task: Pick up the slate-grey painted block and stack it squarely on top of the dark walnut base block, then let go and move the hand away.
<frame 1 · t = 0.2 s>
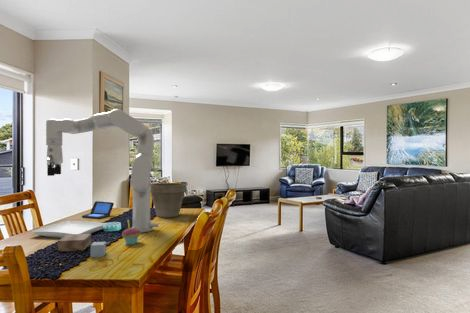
hand: (54, 174, 174), 31 cm above the table, fingers open, 9 cm apart
walnut base: (75, 248, 150), on the table
plant pot: (167, 215, 224), on the table
square plate: (72, 233, 177), on the table
cupcake: (131, 243, 158), on the table
slate block: (98, 255, 139), on the table
handheld game console: (97, 217, 220), on the table
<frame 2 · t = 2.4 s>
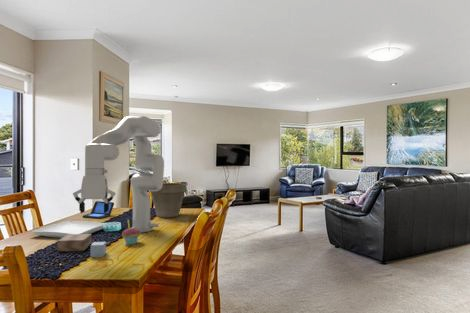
hand: (94, 212, 141), 18 cm above the table, fingers open, 9 cm apart
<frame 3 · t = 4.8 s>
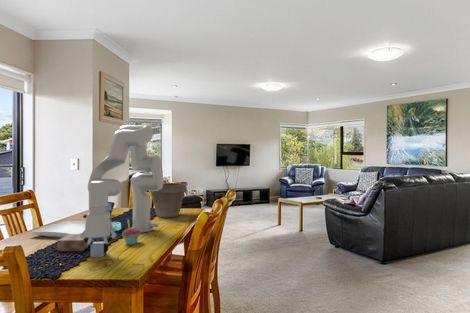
hand: (98, 252, 139), 1 cm above the table, fingers closed on slate block, 5 cm apart
slate block: (98, 255, 139), on the table, touching gripper
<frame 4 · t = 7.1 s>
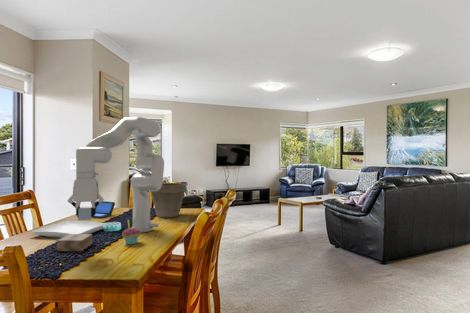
hand: (86, 216, 145), 15 cm above the table, fingers closed on slate block, 5 cm apart
slate block: (86, 218, 145), point 14 cm above the table, touching gripper
when the fingers open (7 cm above the table, at t = 9.5 s): slate block drops 2 cm, point 5 cm above the table.
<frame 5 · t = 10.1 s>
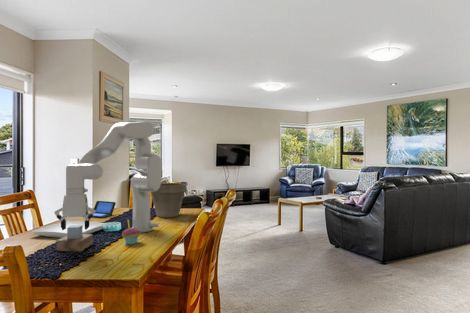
hand: (75, 229, 150), 8 cm above the table, fingers open, 9 cm apart
slate block: (74, 237, 150), point 5 cm above the table
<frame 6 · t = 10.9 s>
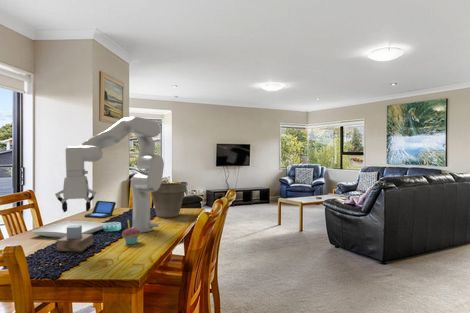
hand: (76, 211, 150), 16 cm above the table, fingers open, 9 cm apart
walnut base: (75, 248, 150), on the table, touching slate block
slate block: (74, 237, 150), point 5 cm above the table, touching walnut base
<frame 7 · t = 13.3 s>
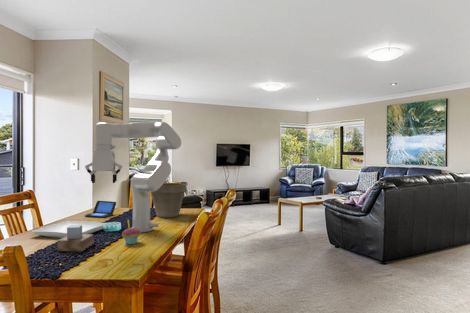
hand: (103, 182, 162), 28 cm above the table, fingers open, 9 cm apart
walnut base: (76, 248, 150), on the table
slate block: (74, 237, 150), point 5 cm above the table
at the end: slate block 0.6 cm off-centre on the walnut base, point 5.0 cm above the walnut base's base; slate block tilted 0°; the gripper is holding nothing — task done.
